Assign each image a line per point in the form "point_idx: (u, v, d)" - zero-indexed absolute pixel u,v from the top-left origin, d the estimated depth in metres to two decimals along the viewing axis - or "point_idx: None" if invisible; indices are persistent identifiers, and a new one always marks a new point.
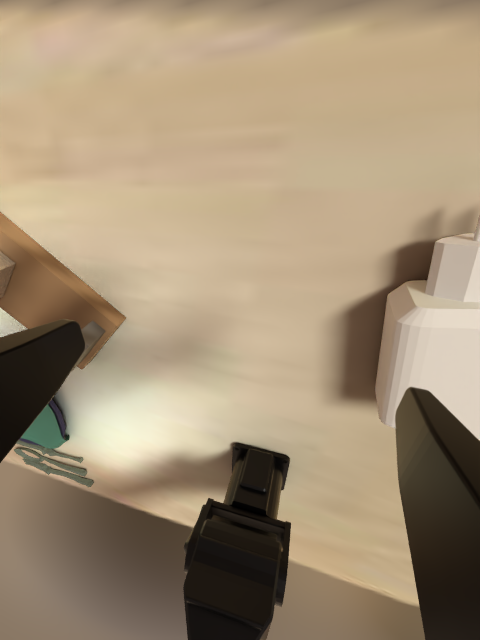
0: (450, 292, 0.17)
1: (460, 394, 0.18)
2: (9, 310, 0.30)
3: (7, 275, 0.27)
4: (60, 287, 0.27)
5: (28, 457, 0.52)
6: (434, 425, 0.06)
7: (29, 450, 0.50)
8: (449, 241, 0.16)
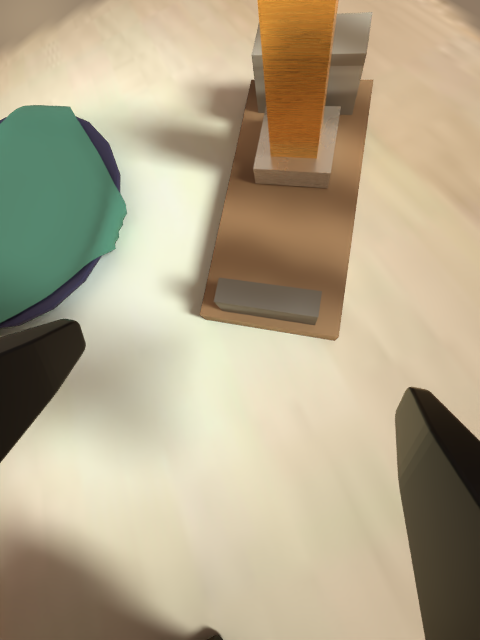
0: None
1: None
2: (234, 194, 0.21)
3: (305, 183, 0.20)
4: (337, 247, 0.19)
5: None
6: (434, 425, 0.06)
7: None
8: None
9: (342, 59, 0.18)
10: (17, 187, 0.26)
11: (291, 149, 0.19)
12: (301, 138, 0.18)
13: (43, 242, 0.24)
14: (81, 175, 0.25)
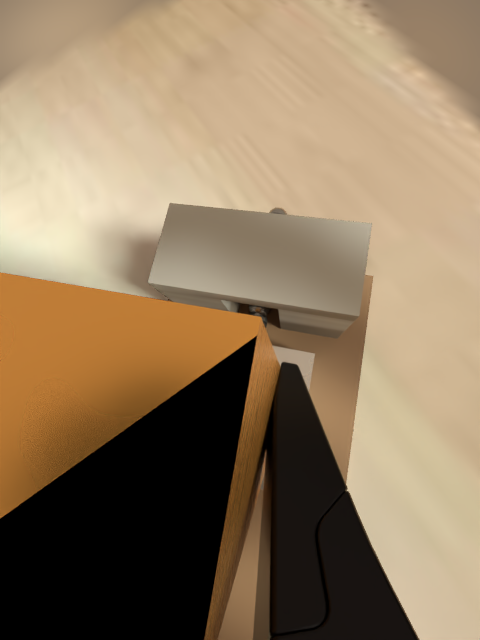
0: None
1: None
2: None
3: None
4: None
5: None
6: (281, 392, 0.06)
7: None
8: None
9: (313, 311, 0.09)
10: None
11: None
12: None
13: None
14: None
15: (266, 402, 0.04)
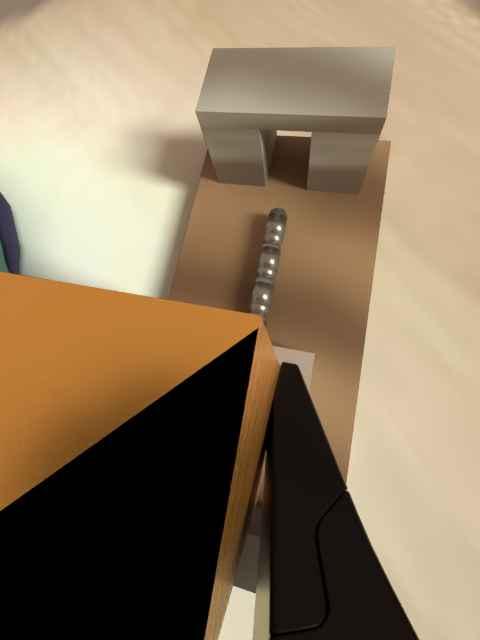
0: None
1: None
2: None
3: None
4: (333, 418, 0.12)
5: None
6: (281, 392, 0.06)
7: None
8: None
9: (344, 124, 0.11)
10: None
11: None
12: None
13: None
14: None
15: (266, 402, 0.04)
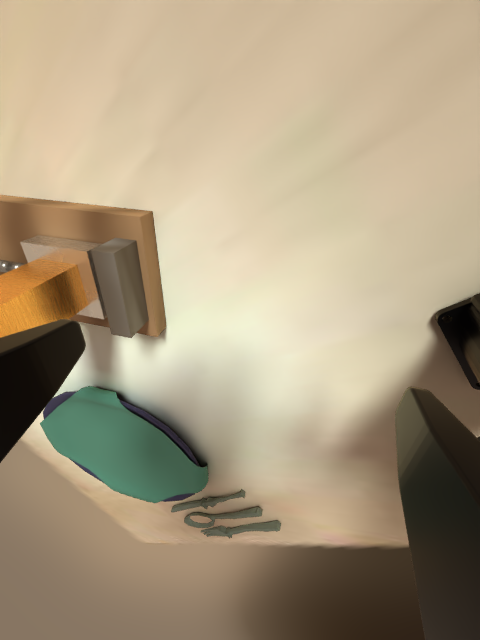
0: None
1: None
2: None
3: None
4: (61, 220, 0.20)
5: (202, 525, 0.42)
6: (434, 425, 0.06)
7: (195, 513, 0.41)
8: None
9: None
10: (106, 449, 0.36)
11: (76, 291, 0.19)
12: (63, 289, 0.18)
13: (132, 434, 0.33)
14: (79, 414, 0.33)
15: None
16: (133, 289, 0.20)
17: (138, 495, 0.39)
